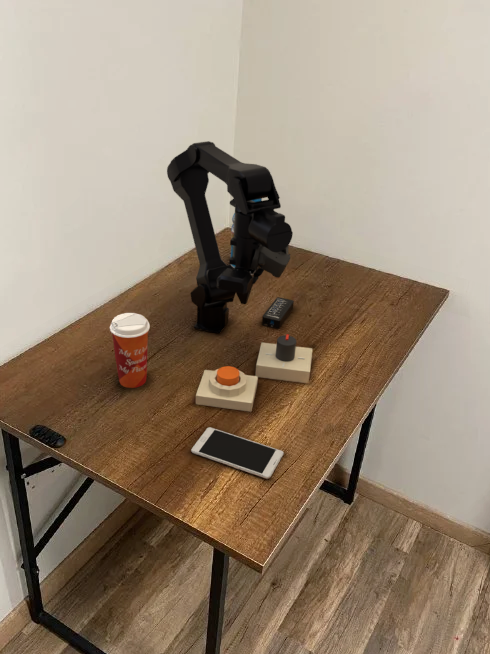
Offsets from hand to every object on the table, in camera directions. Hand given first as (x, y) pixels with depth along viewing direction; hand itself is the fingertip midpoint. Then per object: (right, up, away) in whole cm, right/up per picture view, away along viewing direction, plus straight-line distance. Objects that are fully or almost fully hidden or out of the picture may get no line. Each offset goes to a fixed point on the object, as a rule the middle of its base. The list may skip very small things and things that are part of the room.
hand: (243, 303), depth 132 cm
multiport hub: (+9, -1, +20) cm, 22 cm away
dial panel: (+9, -14, +2) cm, 16 cm away
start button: (-4, -16, -8) cm, 18 cm away
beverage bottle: (+3, +15, +43) cm, 46 cm away
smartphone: (-3, -29, -21) cm, 36 cm away
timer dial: (+9, -11, 0) cm, 14 cm away
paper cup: (-23, -16, -3) cm, 28 cm away
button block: (-4, -19, -6) cm, 20 cm away
